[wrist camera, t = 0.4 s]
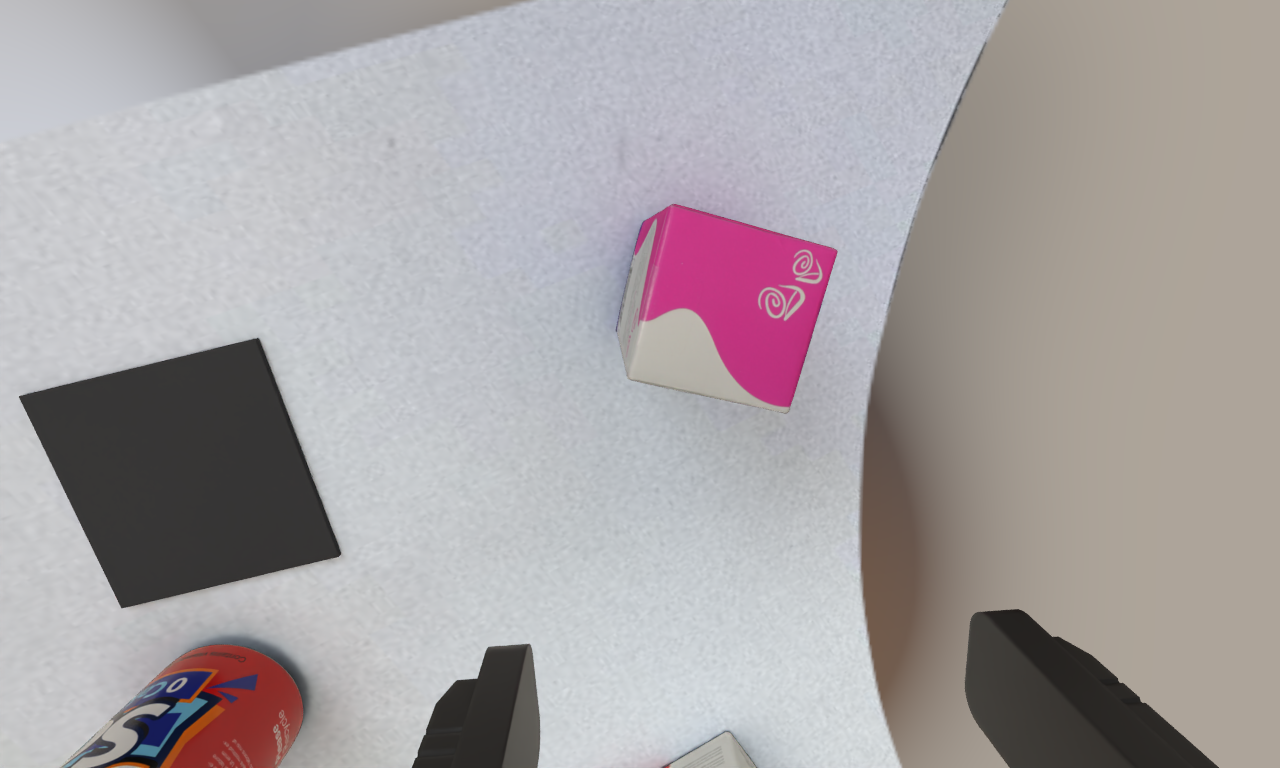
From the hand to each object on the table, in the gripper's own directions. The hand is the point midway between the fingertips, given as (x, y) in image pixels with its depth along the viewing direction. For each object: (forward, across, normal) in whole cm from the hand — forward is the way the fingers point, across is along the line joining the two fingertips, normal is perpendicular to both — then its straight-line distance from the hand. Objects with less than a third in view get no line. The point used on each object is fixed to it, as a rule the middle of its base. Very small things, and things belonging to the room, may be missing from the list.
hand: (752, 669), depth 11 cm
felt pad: (+21, +25, +3) cm, 33 cm away
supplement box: (+21, -1, -5) cm, 22 cm away
